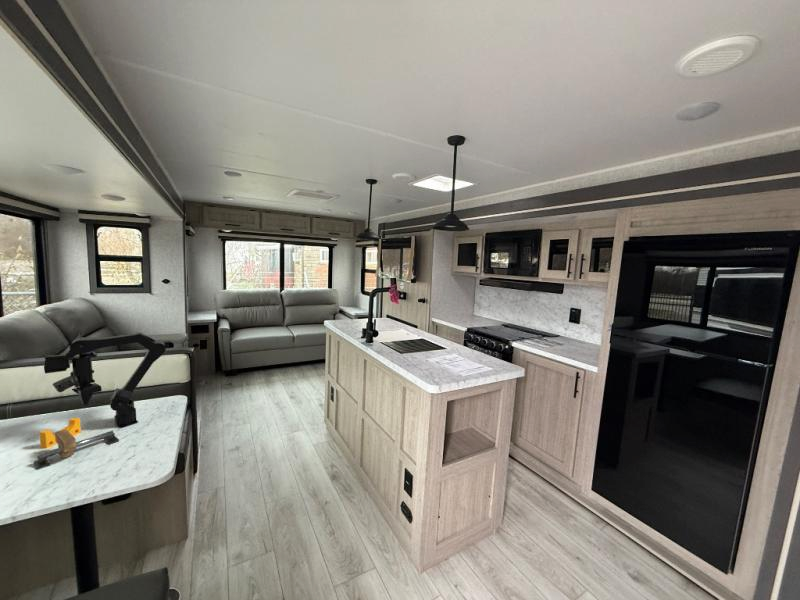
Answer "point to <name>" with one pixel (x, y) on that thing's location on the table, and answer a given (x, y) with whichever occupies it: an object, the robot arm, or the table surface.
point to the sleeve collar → (65, 442)
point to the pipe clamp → (73, 427)
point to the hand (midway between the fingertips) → (85, 404)
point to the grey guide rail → (108, 437)
